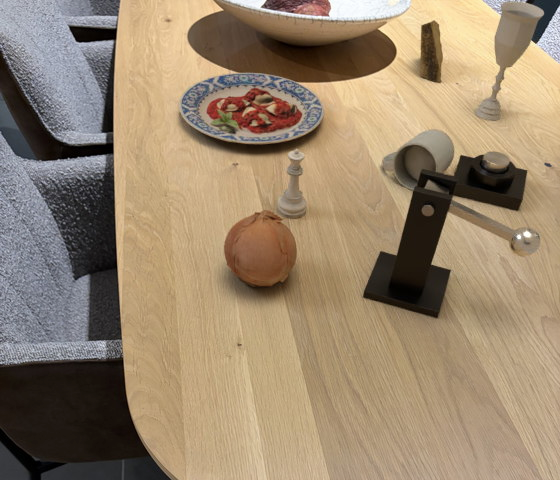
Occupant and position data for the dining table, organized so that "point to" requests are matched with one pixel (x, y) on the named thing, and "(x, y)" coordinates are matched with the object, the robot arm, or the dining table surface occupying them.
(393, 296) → the lever bracket
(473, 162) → the push button base
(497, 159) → the push button
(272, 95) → the ceramic plate
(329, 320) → the dining table surface
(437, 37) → the rock
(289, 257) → the onion
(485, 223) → the flush lever
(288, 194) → the chess piece
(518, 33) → the chalice
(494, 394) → the dining table surface
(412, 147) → the ceramic mug
